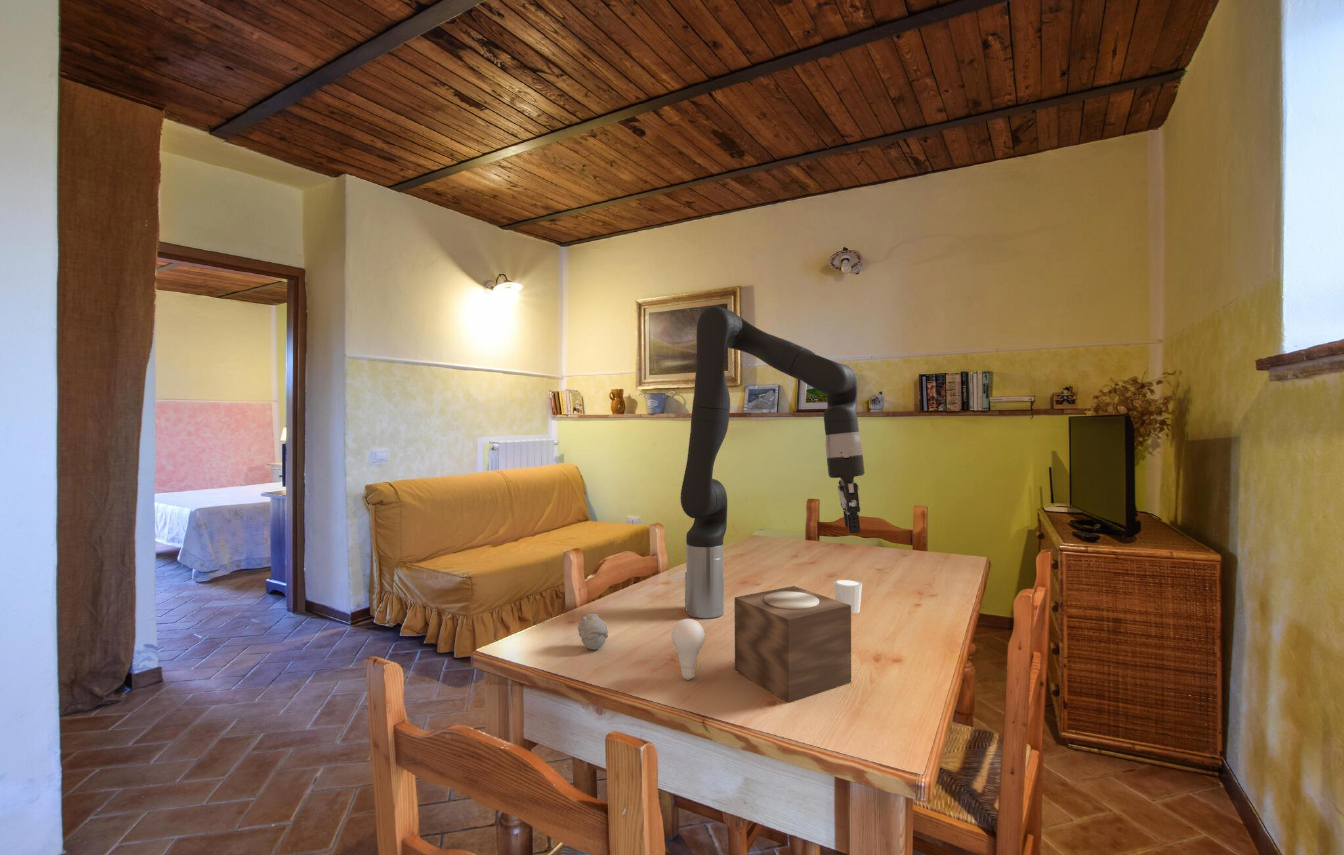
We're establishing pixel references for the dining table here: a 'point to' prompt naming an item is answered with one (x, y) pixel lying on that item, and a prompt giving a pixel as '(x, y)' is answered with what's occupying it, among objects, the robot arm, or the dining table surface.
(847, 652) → the lamp housing
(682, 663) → the lightbulb
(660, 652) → the dining table surface
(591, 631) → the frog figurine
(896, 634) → the dining table surface
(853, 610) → the shot glass
